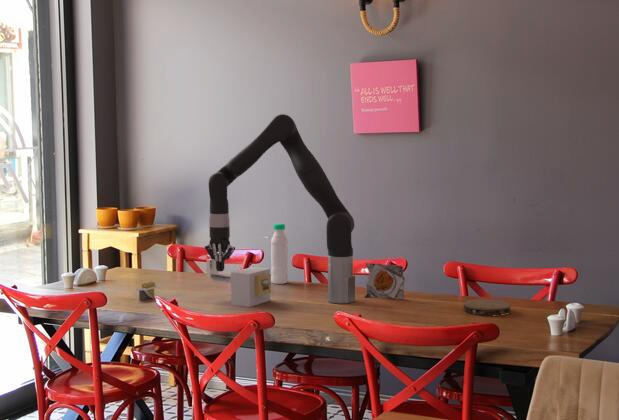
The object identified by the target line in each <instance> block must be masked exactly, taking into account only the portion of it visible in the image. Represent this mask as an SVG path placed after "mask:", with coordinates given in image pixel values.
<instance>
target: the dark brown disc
mask: <svg viewBox="0 0 619 420" xmlns="http://www.w3.org/2000/svg"><path fill="white" fill-rule="evenodd" d="M463 312H464V313H466V314H468V315H472V316H479V317H494V316H493V315H501V314H506V313H509V312H510V313H511V304H510V303H509V302H506V301H502V300H496V299H470V300H466V301H464V303H463Z"/></svg>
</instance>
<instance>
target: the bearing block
mask: <svg viewBox="0 0 619 420" xmlns="http://www.w3.org/2000/svg"><path fill="white" fill-rule="evenodd" d="M264 273H268V274H271V268H268V267H255V266H251V267H247V268H244V269H239V270H238V269H237V270H234V271H231V272H230V276H231V282H230V301H231V302H230V305H231V306H236V307H238V306H239V307H246V308H251V307H254V306H257V305H260V304H264V303H266V302H269V301H271V293H268V294H264V295H261V296H259V295H255V276H257V275H260V274H264Z"/></svg>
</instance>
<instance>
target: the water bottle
mask: <svg viewBox="0 0 619 420" xmlns="http://www.w3.org/2000/svg"><path fill="white" fill-rule="evenodd" d="M285 229H286V225H285V223H274V224H273V230H274V232H273V235H272V237H271V239H270V244H271V245H270V246H271V247H270V258H271V259H270V263H271V264H270V265H271V267H270V274H271V284H273V285H286V284H287V283H288V282H289V275H288V273H289V269H288V262H289V259H288V258H289V256H288V254H289V252H288V249H289V248H288V242H289V241H288V238H287V237H286V234H285ZM285 283H286V284H285Z"/></svg>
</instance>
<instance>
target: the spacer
mask: <svg viewBox="0 0 619 420" xmlns="http://www.w3.org/2000/svg"><path fill="white" fill-rule="evenodd" d="M271 275H272V274H271V273H270V274H268V273H264V274H260V275H257V276H255V295H259V296H261V295H264V294H268V293H270V294H271V292H272V289H271V288H272V283H271V284H270V286H263V280H270V281H271Z"/></svg>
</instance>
